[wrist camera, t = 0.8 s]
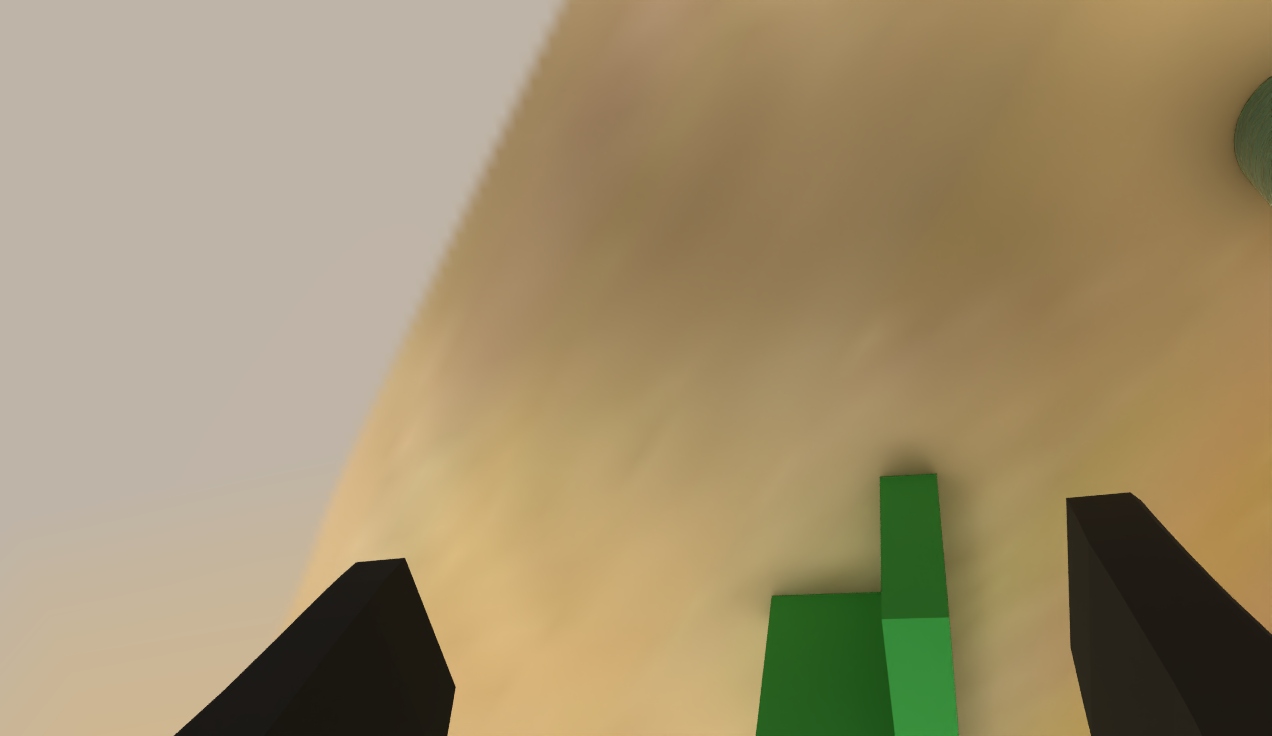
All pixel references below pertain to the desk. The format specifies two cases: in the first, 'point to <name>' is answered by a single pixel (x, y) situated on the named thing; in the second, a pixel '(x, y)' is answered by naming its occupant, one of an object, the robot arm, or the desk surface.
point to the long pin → (1256, 140)
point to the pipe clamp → (869, 638)
